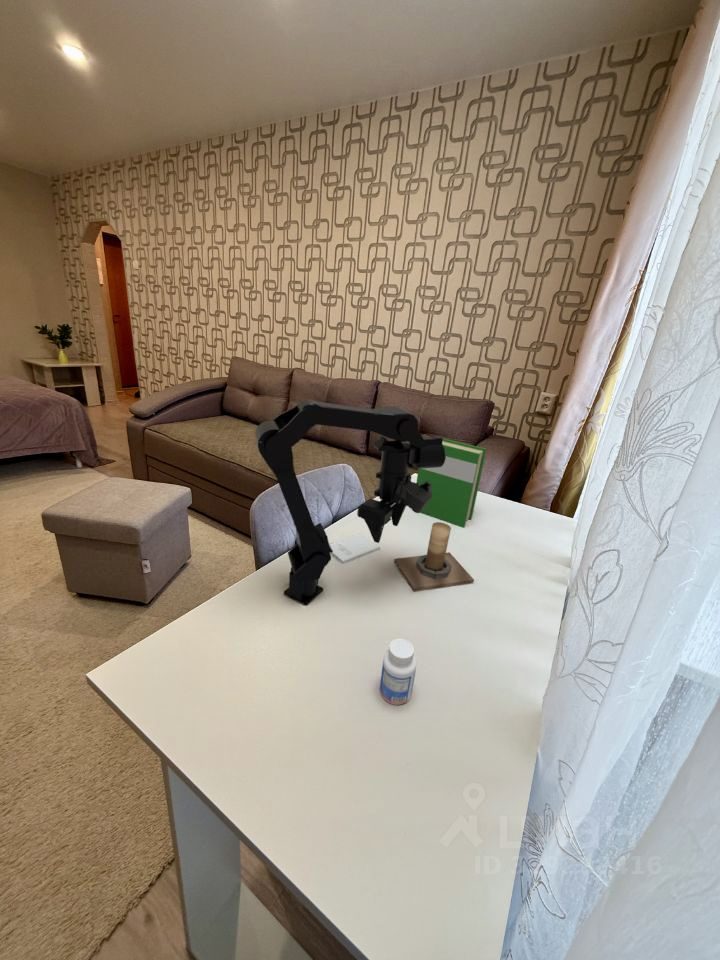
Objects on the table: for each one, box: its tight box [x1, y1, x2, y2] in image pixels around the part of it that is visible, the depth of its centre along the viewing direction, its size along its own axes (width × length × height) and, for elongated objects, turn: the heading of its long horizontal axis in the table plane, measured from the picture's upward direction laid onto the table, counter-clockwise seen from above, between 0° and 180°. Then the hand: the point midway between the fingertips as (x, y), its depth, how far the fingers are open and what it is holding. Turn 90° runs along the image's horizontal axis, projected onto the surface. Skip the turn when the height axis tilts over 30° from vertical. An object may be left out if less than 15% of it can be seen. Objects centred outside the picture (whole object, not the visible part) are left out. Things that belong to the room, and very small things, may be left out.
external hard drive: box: [329, 533, 381, 565], centre depth 105 cm, size 2×8×12 cm
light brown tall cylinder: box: [424, 521, 452, 572], centre depth 96 cm, size 4×4×12 cm
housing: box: [393, 551, 475, 593], centre depth 98 cm, size 16×12×2 cm
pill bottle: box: [379, 638, 418, 705], centre depth 64 cm, size 6×5×10 cm
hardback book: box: [415, 437, 488, 529], centre depth 124 cm, size 18×7×24 cm, turn 57°
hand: (386, 533), depth 88 cm, fingers open, 9 cm apart
